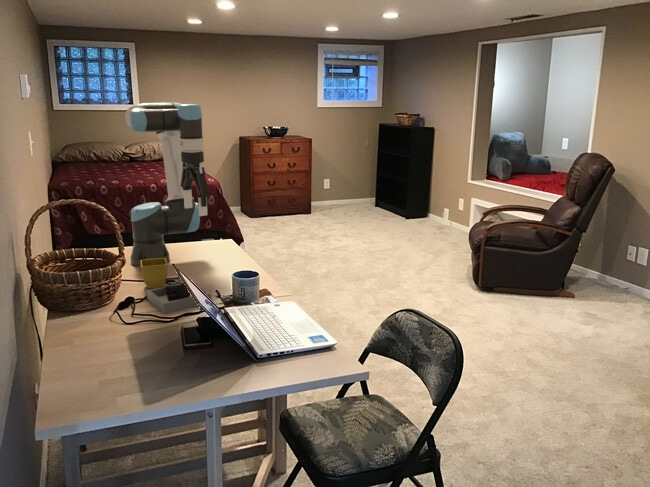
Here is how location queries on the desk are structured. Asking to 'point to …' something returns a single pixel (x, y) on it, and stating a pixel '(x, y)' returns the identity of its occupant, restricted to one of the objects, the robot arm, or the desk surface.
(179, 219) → the robot arm
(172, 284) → the end cap
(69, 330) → the desk surface
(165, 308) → the holder tray
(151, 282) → the flower pot
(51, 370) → the desk surface
